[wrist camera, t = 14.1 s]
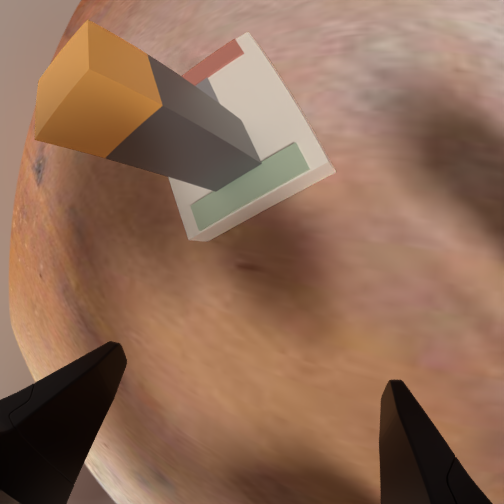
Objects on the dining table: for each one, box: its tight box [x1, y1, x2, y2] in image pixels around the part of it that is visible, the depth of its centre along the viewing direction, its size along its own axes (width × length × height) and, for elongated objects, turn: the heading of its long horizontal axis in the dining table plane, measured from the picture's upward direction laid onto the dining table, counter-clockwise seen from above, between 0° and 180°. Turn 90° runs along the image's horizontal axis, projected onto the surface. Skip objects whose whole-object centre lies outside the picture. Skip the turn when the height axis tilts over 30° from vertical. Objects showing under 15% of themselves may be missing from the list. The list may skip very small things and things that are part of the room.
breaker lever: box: [35, 20, 262, 192], centre depth 12 cm, size 3×3×10 cm
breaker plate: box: [168, 32, 336, 242], centre depth 18 cm, size 11×9×2 cm
